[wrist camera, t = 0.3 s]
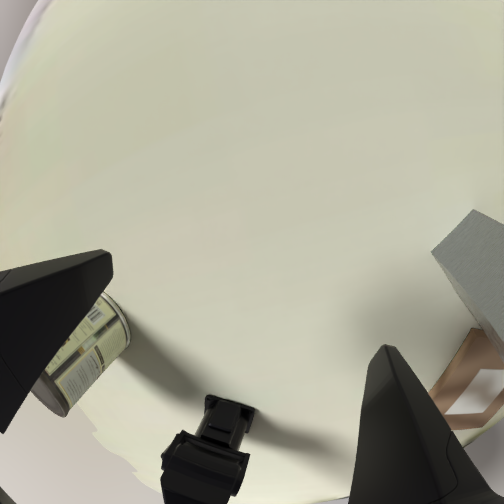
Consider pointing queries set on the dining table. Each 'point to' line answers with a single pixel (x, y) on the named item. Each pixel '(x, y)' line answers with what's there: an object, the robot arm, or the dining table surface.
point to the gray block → (477, 271)
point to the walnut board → (471, 384)
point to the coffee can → (83, 357)
